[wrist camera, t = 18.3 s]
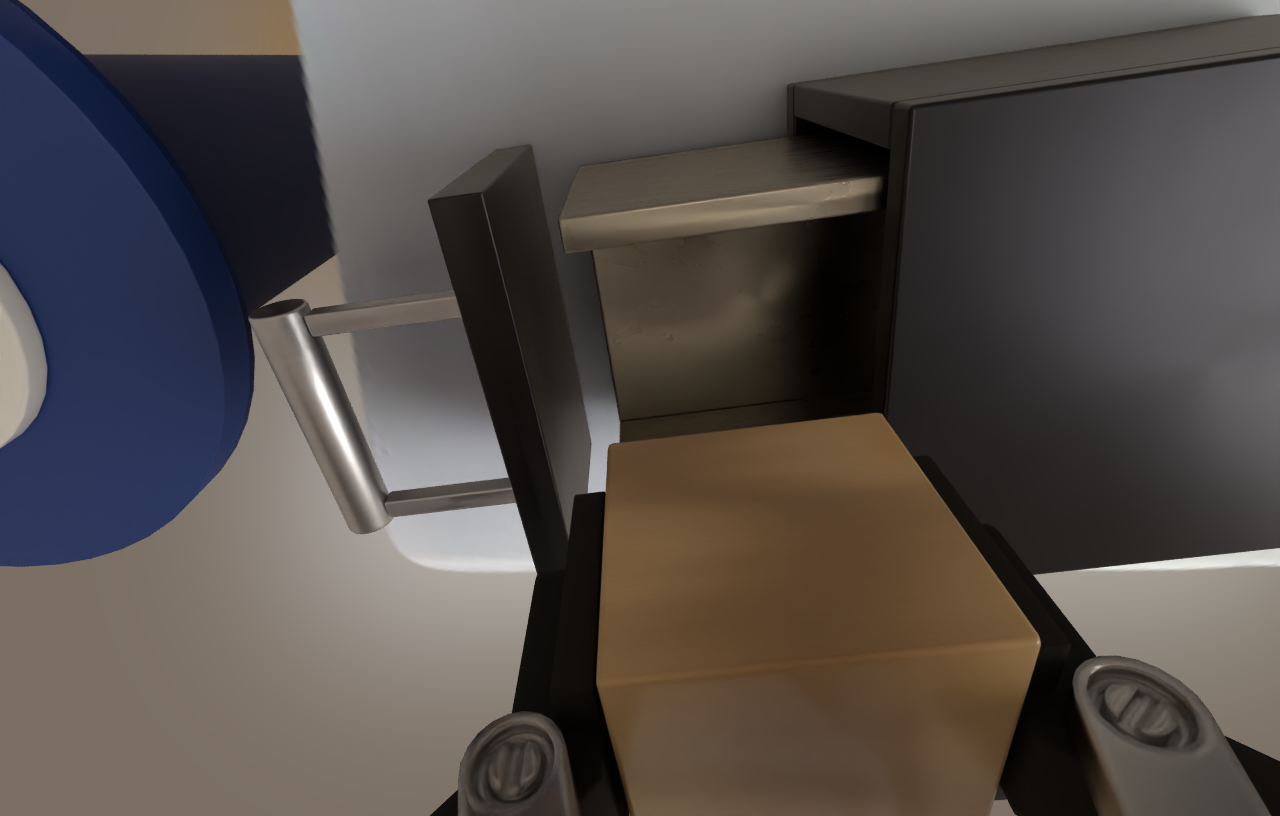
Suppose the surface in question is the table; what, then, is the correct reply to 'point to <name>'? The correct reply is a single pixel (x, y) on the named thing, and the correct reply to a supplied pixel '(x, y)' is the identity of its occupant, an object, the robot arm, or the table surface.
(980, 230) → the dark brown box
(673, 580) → the block
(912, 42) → the table surface
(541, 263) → the drawer
